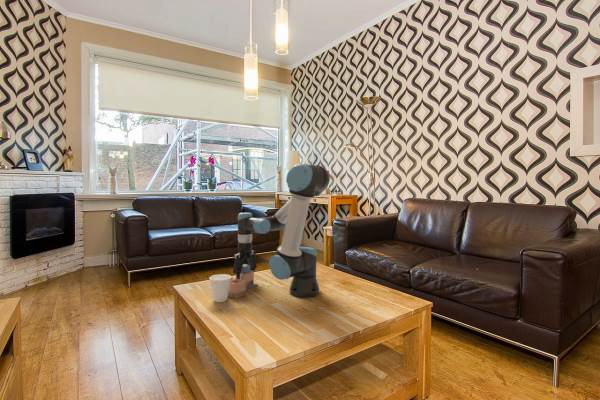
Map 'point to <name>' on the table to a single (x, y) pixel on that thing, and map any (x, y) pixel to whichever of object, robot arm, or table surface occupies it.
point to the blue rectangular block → (245, 269)
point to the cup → (220, 287)
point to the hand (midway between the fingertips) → (245, 283)
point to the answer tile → (251, 286)
